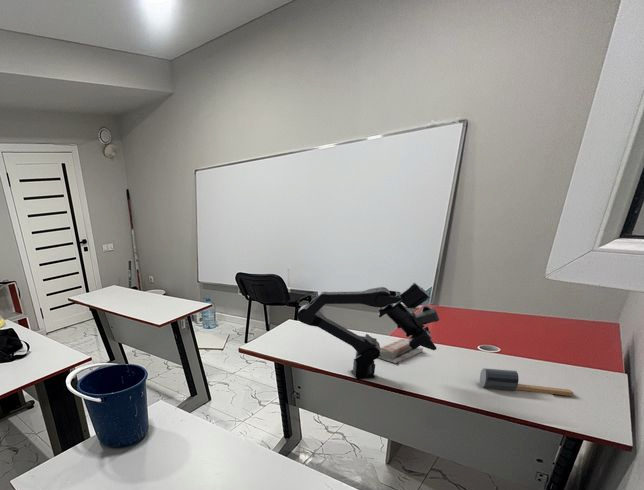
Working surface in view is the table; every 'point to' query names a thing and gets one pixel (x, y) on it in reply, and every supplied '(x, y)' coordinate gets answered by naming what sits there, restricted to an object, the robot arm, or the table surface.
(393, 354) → the packaged product
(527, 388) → the wooden stick
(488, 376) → the grey cylinder
